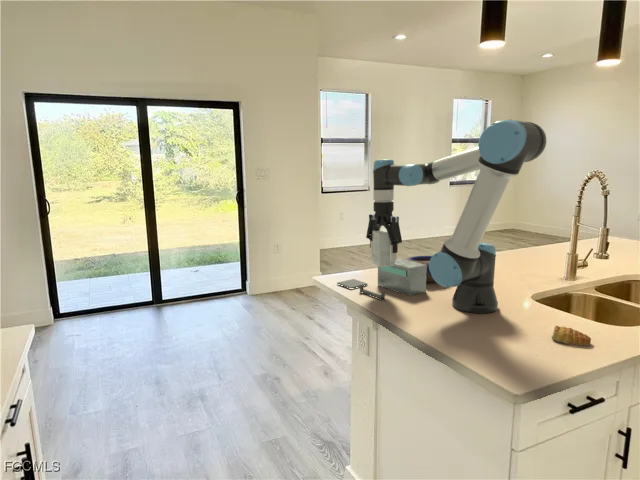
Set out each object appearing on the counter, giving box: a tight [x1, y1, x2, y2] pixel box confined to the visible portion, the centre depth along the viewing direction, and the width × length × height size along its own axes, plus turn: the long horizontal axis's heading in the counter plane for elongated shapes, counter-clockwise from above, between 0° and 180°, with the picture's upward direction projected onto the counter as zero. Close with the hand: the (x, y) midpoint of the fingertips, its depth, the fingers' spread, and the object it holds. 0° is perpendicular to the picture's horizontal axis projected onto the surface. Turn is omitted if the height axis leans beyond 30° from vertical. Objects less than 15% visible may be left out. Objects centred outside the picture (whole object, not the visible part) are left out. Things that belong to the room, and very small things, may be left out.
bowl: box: [405, 255, 436, 283], centre depth 184 cm, size 18×18×10 cm
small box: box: [372, 229, 395, 267], centre depth 162 cm, size 8×6×13 cm
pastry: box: [551, 325, 592, 347], centre depth 119 cm, size 9×7×4 cm
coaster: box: [336, 278, 368, 289], centre depth 177 cm, size 9×9×1 cm
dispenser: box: [359, 257, 427, 301], centre depth 167 cm, size 18×21×11 cm
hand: (383, 259), depth 163 cm, fingers closed on small box, 10 cm apart
